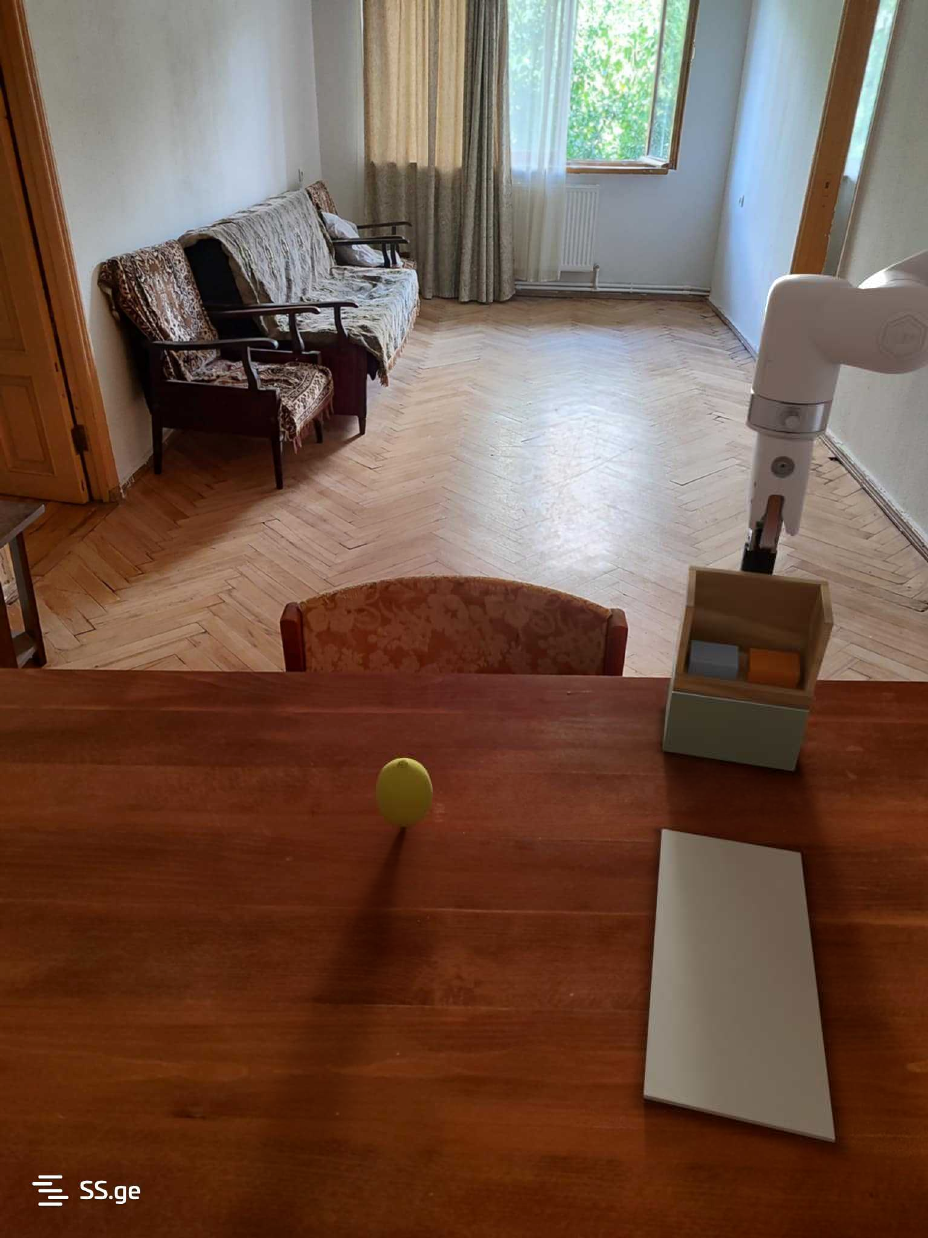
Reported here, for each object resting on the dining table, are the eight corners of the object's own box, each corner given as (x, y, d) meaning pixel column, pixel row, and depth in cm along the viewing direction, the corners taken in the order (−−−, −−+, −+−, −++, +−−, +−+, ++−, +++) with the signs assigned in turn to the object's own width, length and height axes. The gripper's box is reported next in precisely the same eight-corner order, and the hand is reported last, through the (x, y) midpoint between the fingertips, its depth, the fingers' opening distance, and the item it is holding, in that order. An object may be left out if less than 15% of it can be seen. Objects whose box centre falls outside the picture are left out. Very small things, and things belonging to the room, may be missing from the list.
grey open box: (665, 710, 105) (674, 653, 101) (788, 728, 102) (802, 671, 98) (662, 751, 98) (671, 692, 94) (794, 771, 95) (809, 712, 91)
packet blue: (688, 653, 98) (691, 639, 97) (735, 659, 97) (738, 645, 96) (687, 674, 95) (689, 660, 94) (735, 680, 94) (738, 666, 93)
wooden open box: (676, 644, 100) (689, 564, 93) (805, 661, 97) (828, 580, 91) (672, 691, 94) (685, 610, 87) (809, 711, 91) (834, 628, 85)
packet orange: (746, 661, 97) (749, 647, 95) (794, 667, 96) (798, 653, 94) (746, 682, 94) (750, 668, 93) (796, 689, 93) (800, 675, 92)
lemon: (426, 847, 85) (426, 783, 81) (370, 840, 86) (367, 776, 82) (437, 808, 90) (437, 746, 86) (384, 802, 90) (381, 740, 86)
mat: (661, 831, 87) (662, 828, 87) (799, 855, 84) (800, 852, 84) (643, 1098, 63) (644, 1095, 63) (834, 1143, 61) (835, 1139, 61)
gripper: (837, 439, 78) (795, 619, 87) (822, 395, 91) (786, 555, 100) (749, 431, 80) (717, 608, 89) (746, 389, 92) (718, 547, 102)
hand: (754, 580), depth 94 cm, fingers closed
